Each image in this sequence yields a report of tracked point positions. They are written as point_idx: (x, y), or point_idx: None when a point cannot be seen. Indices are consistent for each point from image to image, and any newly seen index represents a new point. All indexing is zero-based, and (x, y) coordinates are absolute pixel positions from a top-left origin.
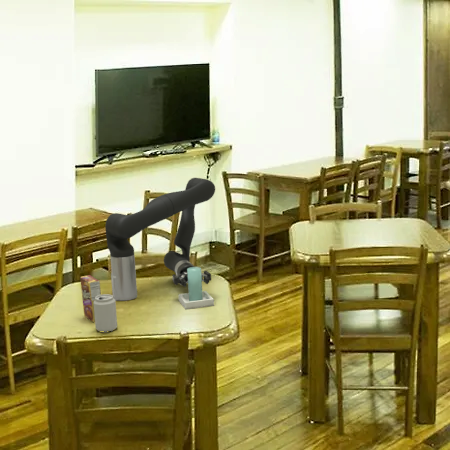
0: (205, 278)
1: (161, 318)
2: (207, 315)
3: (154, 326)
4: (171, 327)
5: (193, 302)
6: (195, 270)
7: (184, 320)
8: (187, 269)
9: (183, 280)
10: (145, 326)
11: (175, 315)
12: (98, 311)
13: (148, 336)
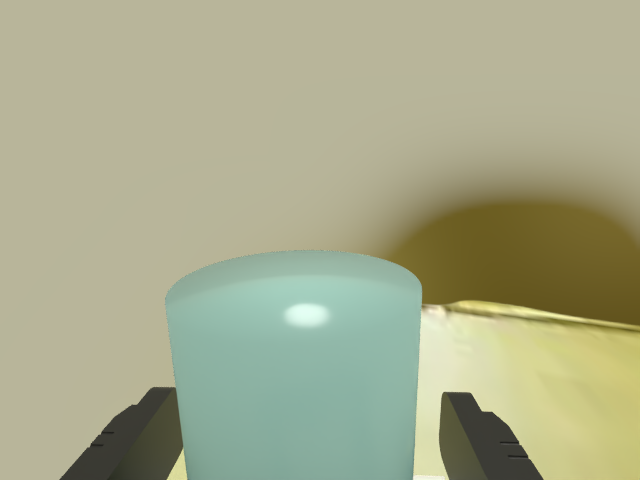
0: (161, 411)
1: (583, 426)
2: None
3: (573, 361)
4: (487, 340)
5: None
6: (311, 251)
7: (438, 373)
8: (418, 280)
9: (483, 423)
10: (623, 371)
11: None
12: None
13: (554, 315)
